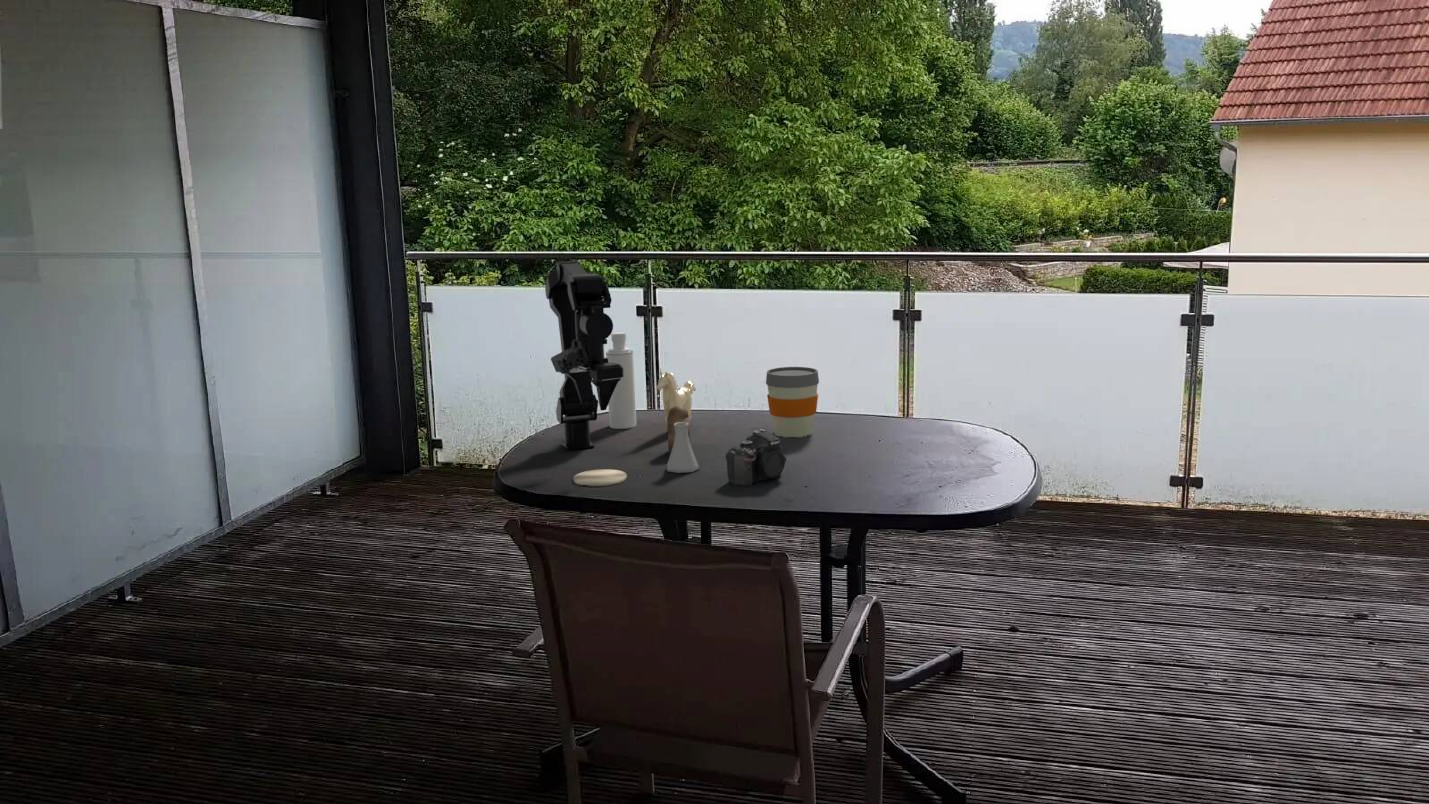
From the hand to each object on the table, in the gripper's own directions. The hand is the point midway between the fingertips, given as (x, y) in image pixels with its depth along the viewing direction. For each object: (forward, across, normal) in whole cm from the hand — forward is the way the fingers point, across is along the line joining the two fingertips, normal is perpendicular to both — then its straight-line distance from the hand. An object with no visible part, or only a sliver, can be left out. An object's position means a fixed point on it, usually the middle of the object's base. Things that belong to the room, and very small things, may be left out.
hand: (593, 407), depth 245 cm
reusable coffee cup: (+13, +2, +51) cm, 53 cm away
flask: (+14, +14, +14) cm, 24 cm away
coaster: (+13, +10, -4) cm, 17 cm away
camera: (+14, +30, +22) cm, 40 cm away
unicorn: (+13, -18, +31) cm, 38 cm away
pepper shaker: (+13, 0, +21) cm, 25 cm away
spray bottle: (+13, -32, +23) cm, 41 cm away
